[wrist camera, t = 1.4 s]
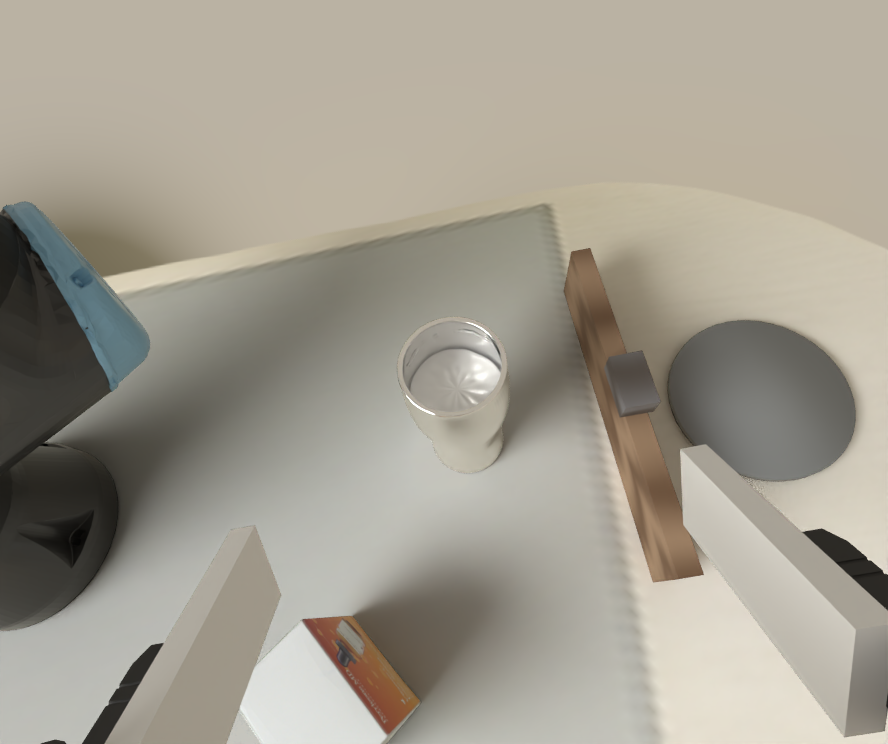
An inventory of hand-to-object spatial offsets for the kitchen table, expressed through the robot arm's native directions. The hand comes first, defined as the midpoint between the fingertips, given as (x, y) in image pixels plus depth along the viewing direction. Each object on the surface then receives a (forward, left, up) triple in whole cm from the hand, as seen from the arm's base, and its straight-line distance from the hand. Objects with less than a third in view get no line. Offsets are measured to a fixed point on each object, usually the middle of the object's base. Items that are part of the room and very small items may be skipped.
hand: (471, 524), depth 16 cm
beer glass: (-9, +5, -26) cm, 28 cm away
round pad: (+4, +26, -26) cm, 37 cm away
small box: (0, -13, -26) cm, 29 cm away
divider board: (-3, +16, -26) cm, 30 cm away
